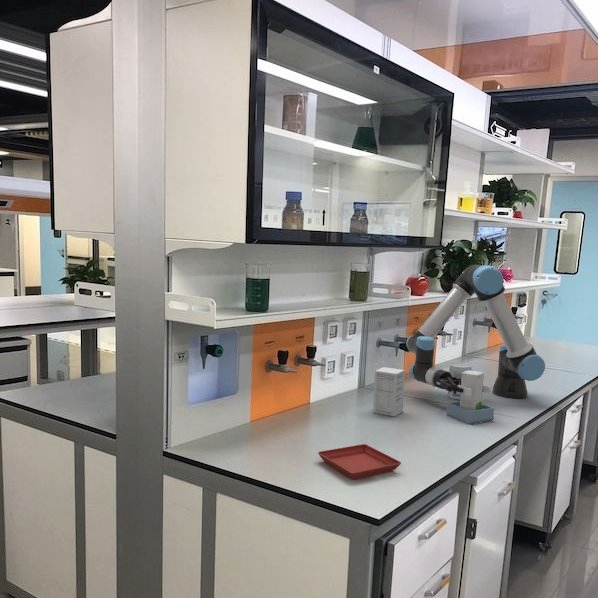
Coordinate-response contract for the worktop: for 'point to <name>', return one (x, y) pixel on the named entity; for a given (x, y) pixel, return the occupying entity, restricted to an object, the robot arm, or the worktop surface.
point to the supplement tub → (457, 375)
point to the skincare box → (476, 384)
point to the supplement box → (388, 391)
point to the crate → (470, 413)
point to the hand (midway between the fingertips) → (480, 391)
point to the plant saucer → (359, 461)
